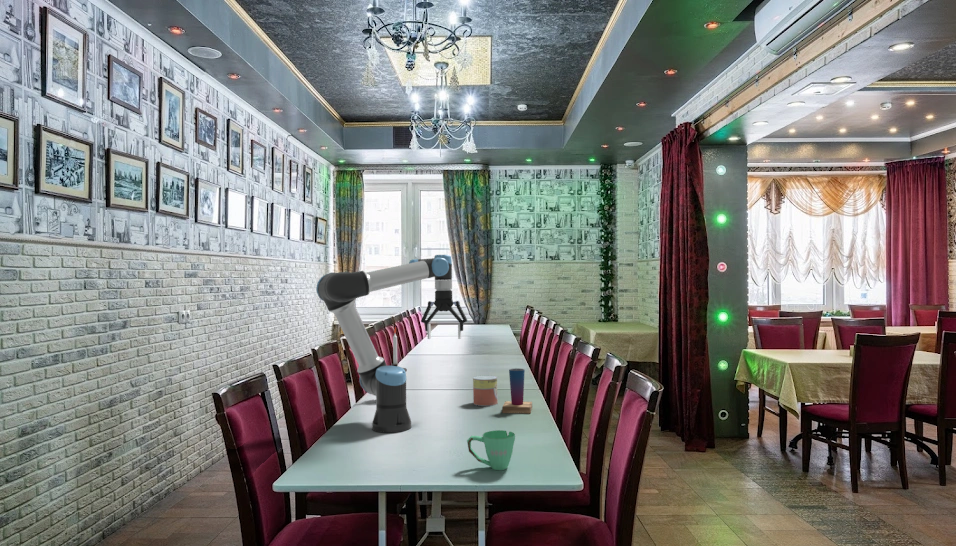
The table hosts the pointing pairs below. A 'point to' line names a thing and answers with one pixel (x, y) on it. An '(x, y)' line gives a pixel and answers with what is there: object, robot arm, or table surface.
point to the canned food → (485, 390)
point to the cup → (517, 385)
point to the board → (517, 407)
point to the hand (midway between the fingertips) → (444, 338)
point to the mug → (495, 448)
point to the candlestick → (395, 350)
